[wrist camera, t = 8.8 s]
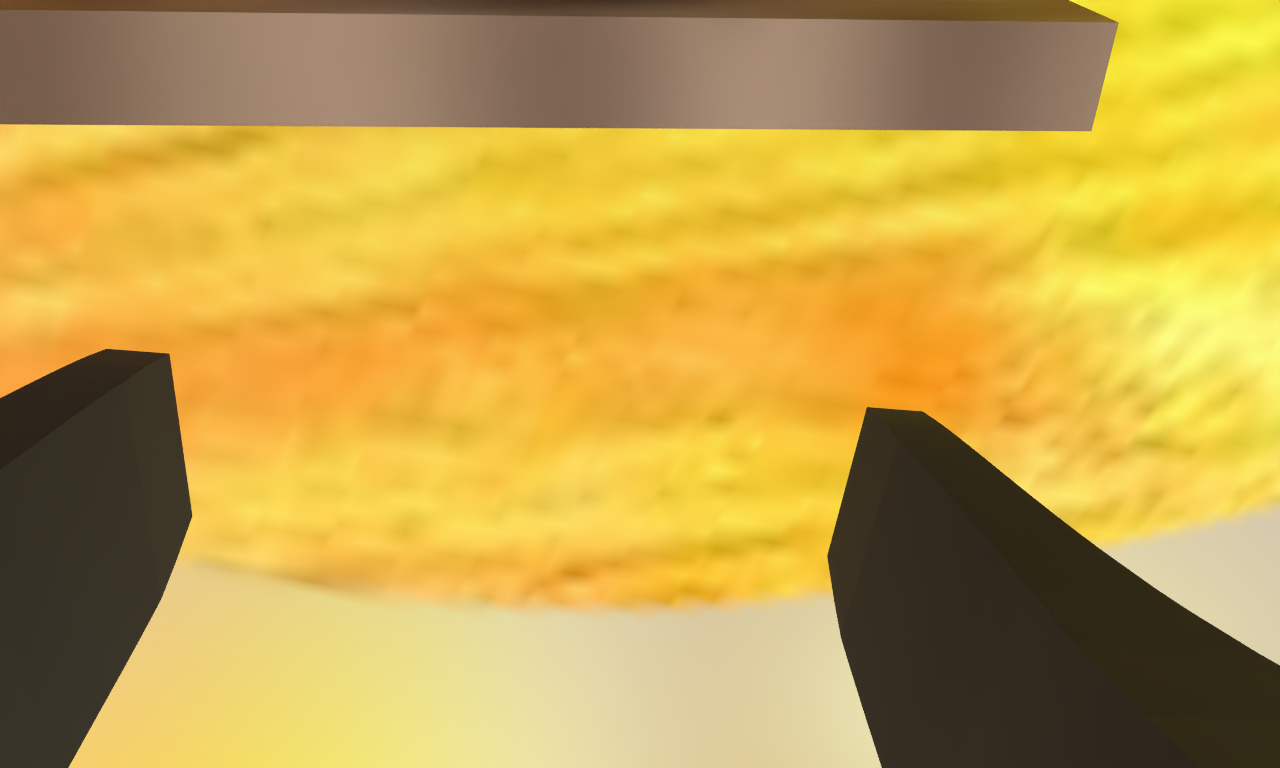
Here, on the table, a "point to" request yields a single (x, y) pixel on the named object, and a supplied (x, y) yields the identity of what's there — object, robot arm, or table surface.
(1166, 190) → the table surface
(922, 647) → the robot arm
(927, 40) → the board
